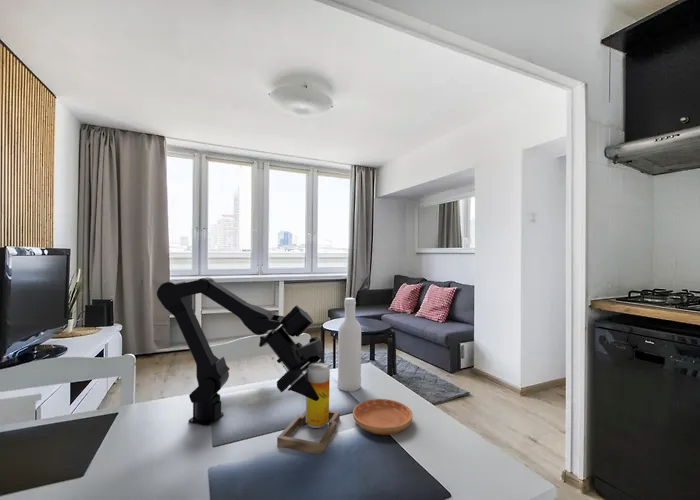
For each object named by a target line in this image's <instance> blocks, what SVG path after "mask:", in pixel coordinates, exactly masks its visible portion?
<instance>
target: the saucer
mask: <svg viewBox="0 0 700 500" xmlns="http://www.w3.org/2000/svg"><path fill="white" fill-rule="evenodd" d="M413 415H414V414H413V411H412V409H410V407H409V406H407V405H405V404H404V403H402V402H400V401H397V400H392V399H386V398H374V399H369V400H364V401H362V402H360V403H357V404H356V405H355V406H354V408H353V410H352V416H353V420H354V421H355V423H356V424H357V425H358V426H360V428H361V429H362V430H365V431H366V432H368V433H371V434H375V435H379V434H380V435H379V436H381V435H382V436H387V435H388V436H390V435H395V434H397V433H400V432H402V431H403V430H405V429H407V428H408V427H409V425H410V424H411V423H412V421H413Z"/></svg>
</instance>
